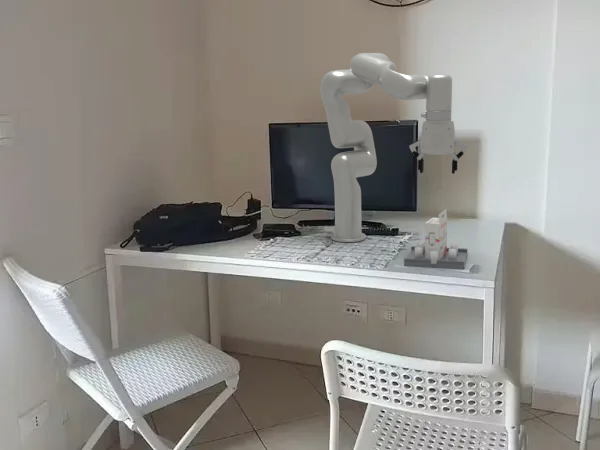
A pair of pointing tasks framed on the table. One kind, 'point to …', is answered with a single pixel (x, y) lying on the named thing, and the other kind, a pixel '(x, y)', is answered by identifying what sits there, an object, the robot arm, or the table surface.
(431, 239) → the ink cartridge box
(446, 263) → the tray
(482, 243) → the table surface
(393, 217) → the table surface
